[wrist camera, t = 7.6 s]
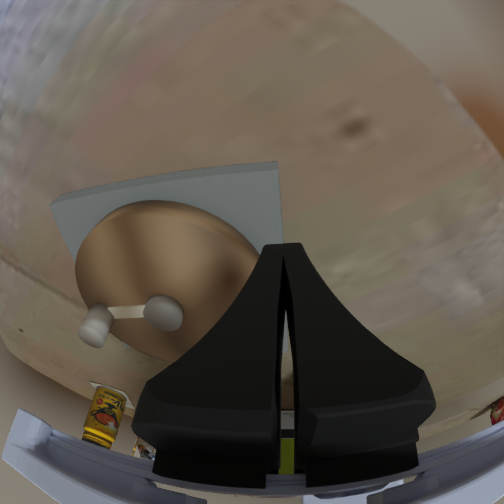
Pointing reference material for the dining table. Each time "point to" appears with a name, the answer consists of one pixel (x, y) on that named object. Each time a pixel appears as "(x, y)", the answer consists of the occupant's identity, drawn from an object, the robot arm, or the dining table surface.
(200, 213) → the handwheel
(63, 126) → the dining table surface
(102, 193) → the base plate
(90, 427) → the condiment
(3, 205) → the dining table surface
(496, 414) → the flower
